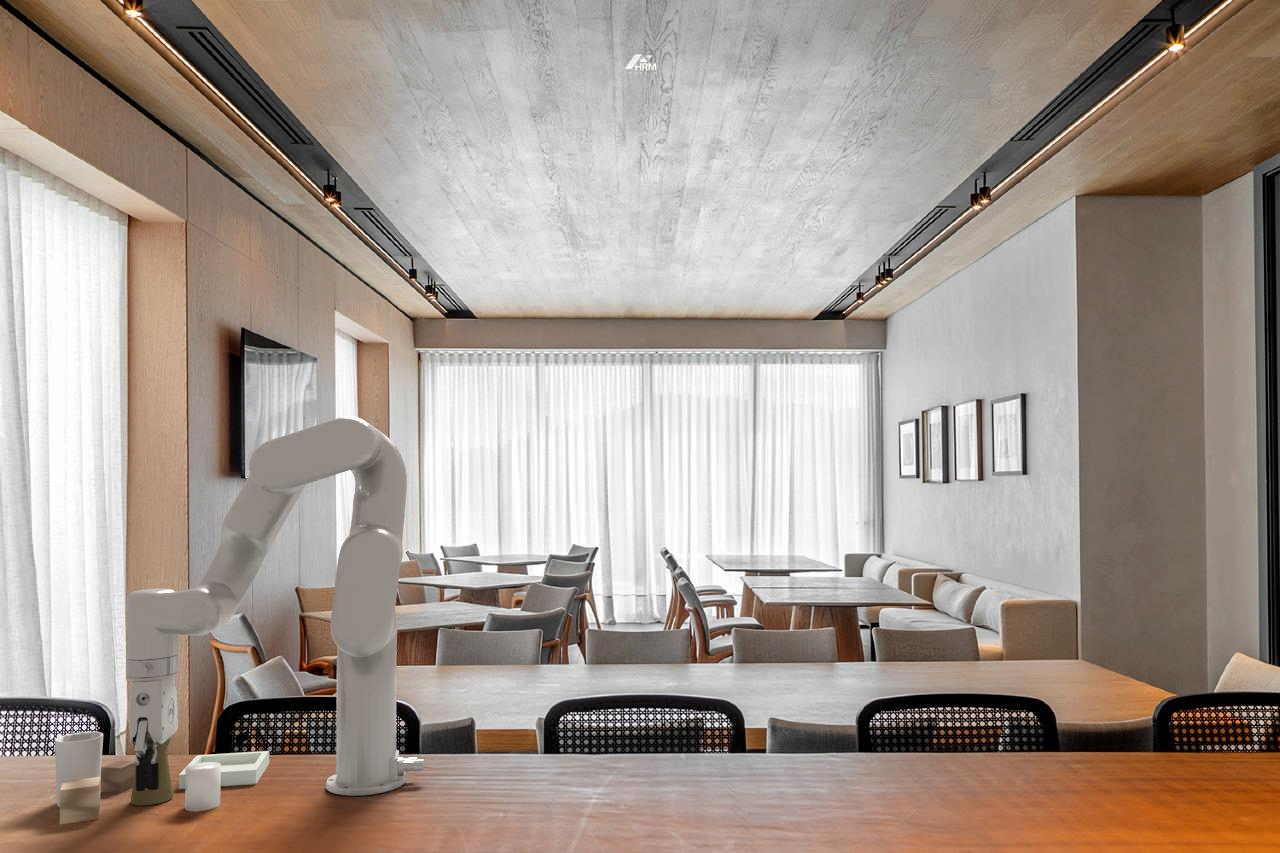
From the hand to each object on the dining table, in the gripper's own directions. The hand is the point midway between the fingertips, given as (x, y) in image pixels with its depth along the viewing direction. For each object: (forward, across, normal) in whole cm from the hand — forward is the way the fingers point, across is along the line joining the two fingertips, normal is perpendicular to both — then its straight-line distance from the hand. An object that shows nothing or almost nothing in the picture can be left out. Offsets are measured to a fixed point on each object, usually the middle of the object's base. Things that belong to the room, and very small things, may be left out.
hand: (152, 784), depth 156 cm
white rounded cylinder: (+3, -5, -9) cm, 10 cm away
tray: (+2, +11, -9) cm, 14 cm away
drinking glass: (+2, +2, +11) cm, 12 cm away
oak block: (+2, -6, +8) cm, 11 cm away
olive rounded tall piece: (+2, 0, 0) cm, 2 cm away
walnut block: (+2, +8, +7) cm, 11 cm away
